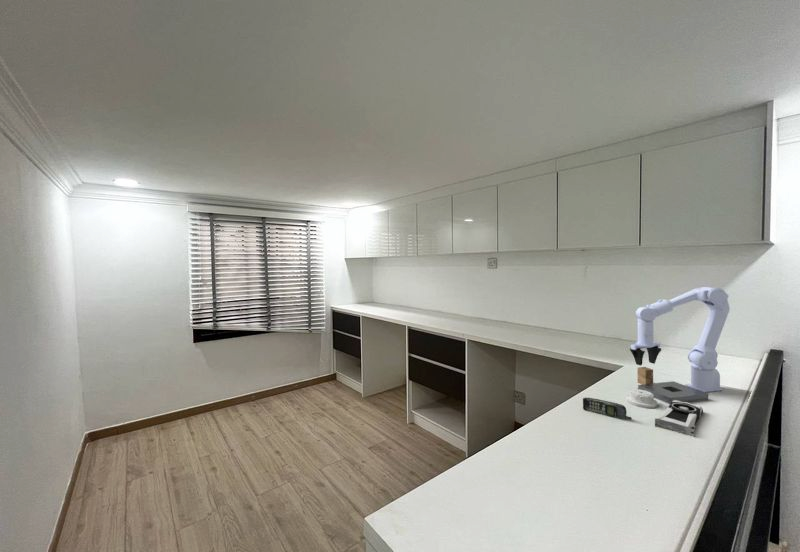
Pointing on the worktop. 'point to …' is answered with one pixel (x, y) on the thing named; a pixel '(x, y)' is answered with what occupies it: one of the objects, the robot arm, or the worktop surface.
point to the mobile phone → (605, 408)
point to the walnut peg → (645, 375)
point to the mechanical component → (642, 399)
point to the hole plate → (674, 392)
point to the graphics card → (680, 417)
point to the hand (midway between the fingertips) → (645, 363)
